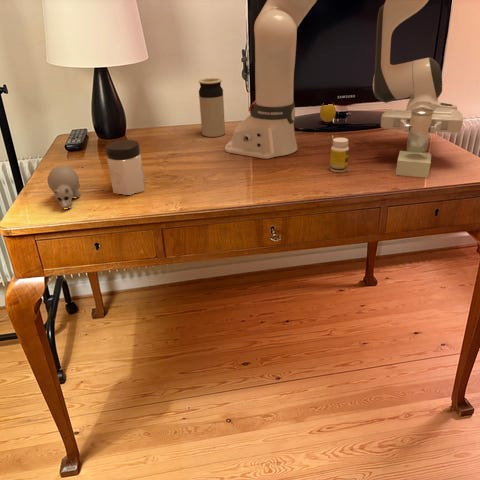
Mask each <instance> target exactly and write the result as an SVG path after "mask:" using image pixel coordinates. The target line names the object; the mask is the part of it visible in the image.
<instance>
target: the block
mask: <svg viewBox="0 0 480 480" xmlns="http://www.w3.org/2000/svg"><path fill="white" fill-rule="evenodd" d="M431 160H432V153H431V152H411V151H408V150H399V154H398V157H397V162H396V163H397V164H396V169H395V175H396V176H403V177H413V178H414V177H415V178H424V179H425V178H426V179H428V178H429V173H430V168H431V164H432V162H431Z"/></svg>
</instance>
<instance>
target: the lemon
mask: <svg viewBox="0 0 480 480" xmlns="http://www.w3.org/2000/svg"><path fill="white" fill-rule="evenodd" d="M333 104H334V103H333ZM333 104H328V105H323V104H322V105H323V106H322V105H321V107H320V109H319V111H320V112H319V116H320V119H321V120H322V121H324V122H325V123H326V122H329V123H330V122H332V121H333V120H334V119H335V118H336V113H337V109H336V105H335V104H334V105H333Z"/></svg>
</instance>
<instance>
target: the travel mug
mask: <svg viewBox="0 0 480 480" xmlns="http://www.w3.org/2000/svg"><path fill="white" fill-rule="evenodd" d="M198 83H199V86H200V88H199V90H198V97H199V98H198V99H199V111H200V122H201V124H200V125H201V134H202V135H203V136H204V137H207V138H217V137H218V138H219V137H222V136H223V135H225V134H226V125H225V122H226V119H225V105H224V101H225V100H224V89H223V87H222V86H221V85H222V84H221V83H222V79H221V78H219V77H206V78H201V79H199V80H198Z"/></svg>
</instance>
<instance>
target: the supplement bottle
mask: <svg viewBox="0 0 480 480" xmlns="http://www.w3.org/2000/svg"><path fill="white" fill-rule="evenodd" d="M349 153H350V147H349V139H348V138H347V137H334V138H333V139H332V145H331V148H330V159H329V160H330V161H329V162H330V163H329V170H330V171H331V172H334V173H345V172H346V171H347V170H348V166H349Z"/></svg>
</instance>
